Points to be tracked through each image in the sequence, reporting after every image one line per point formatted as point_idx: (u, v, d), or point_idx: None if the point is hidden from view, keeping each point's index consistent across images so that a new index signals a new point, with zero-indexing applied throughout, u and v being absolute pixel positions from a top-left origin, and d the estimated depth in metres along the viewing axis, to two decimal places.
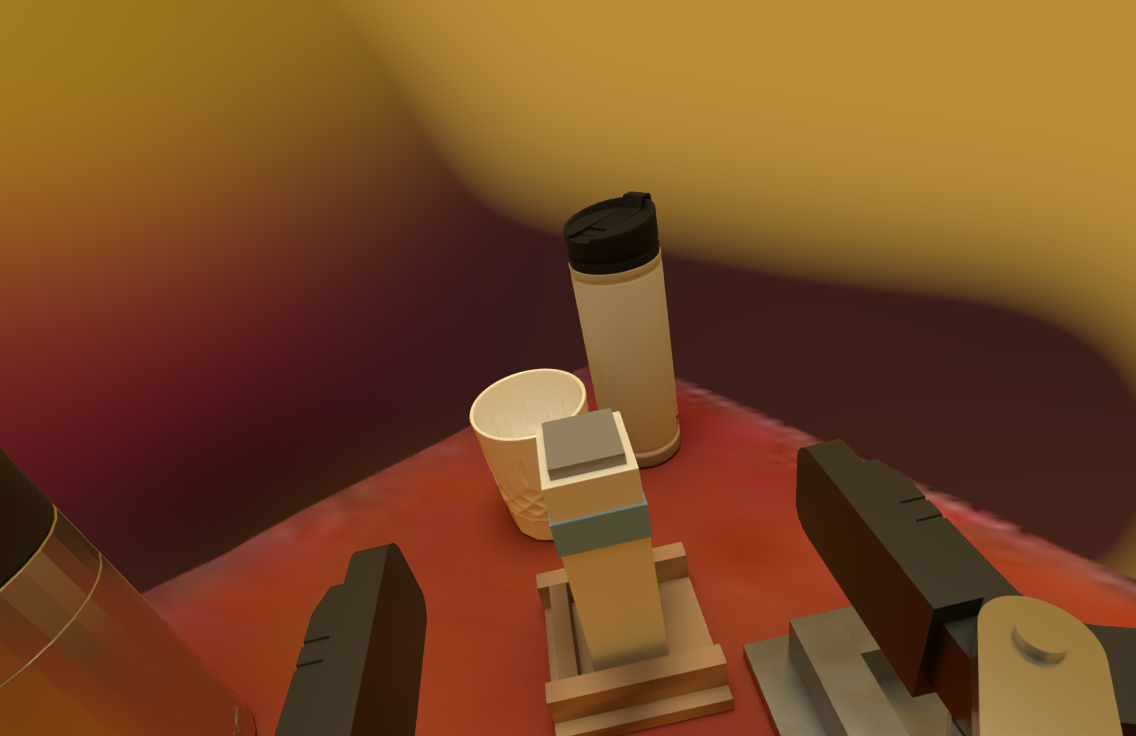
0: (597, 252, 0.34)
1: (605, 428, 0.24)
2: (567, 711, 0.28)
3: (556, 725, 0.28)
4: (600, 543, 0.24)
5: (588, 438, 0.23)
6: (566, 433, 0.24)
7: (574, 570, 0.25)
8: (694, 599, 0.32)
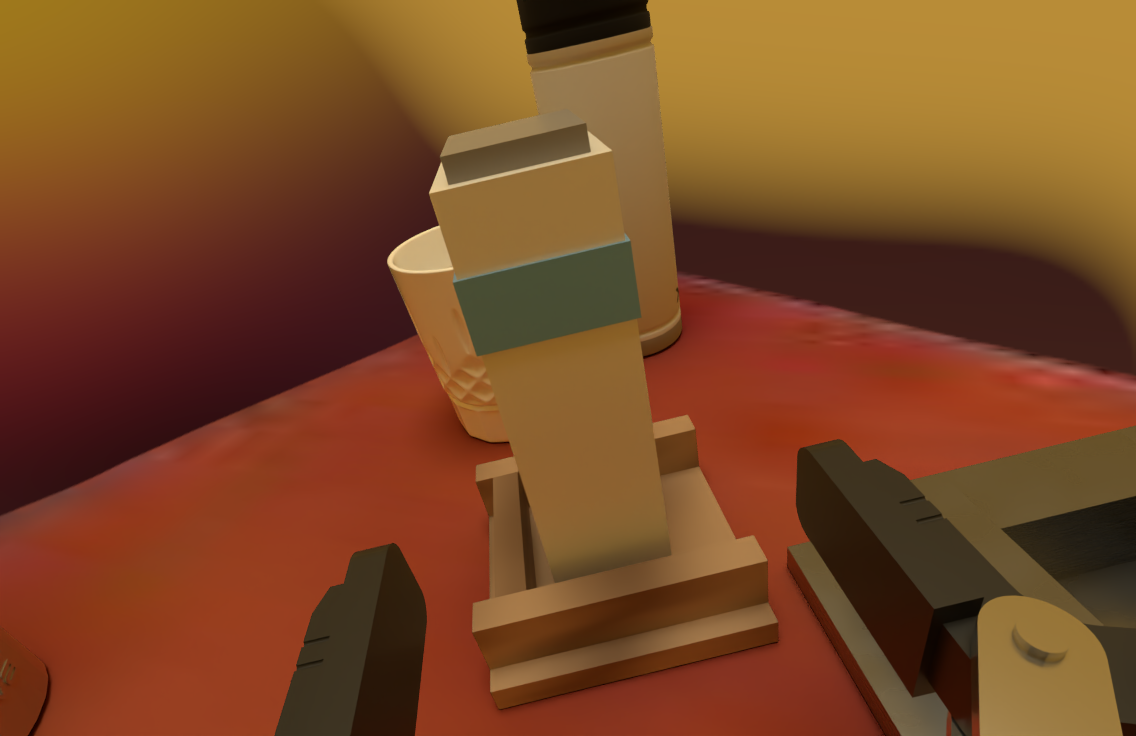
0: (561, 7, 0.24)
1: (555, 119, 0.13)
2: (508, 647, 0.17)
3: (492, 672, 0.17)
4: (549, 328, 0.14)
5: (521, 128, 0.13)
6: (486, 133, 0.14)
7: (507, 387, 0.14)
8: (708, 493, 0.22)
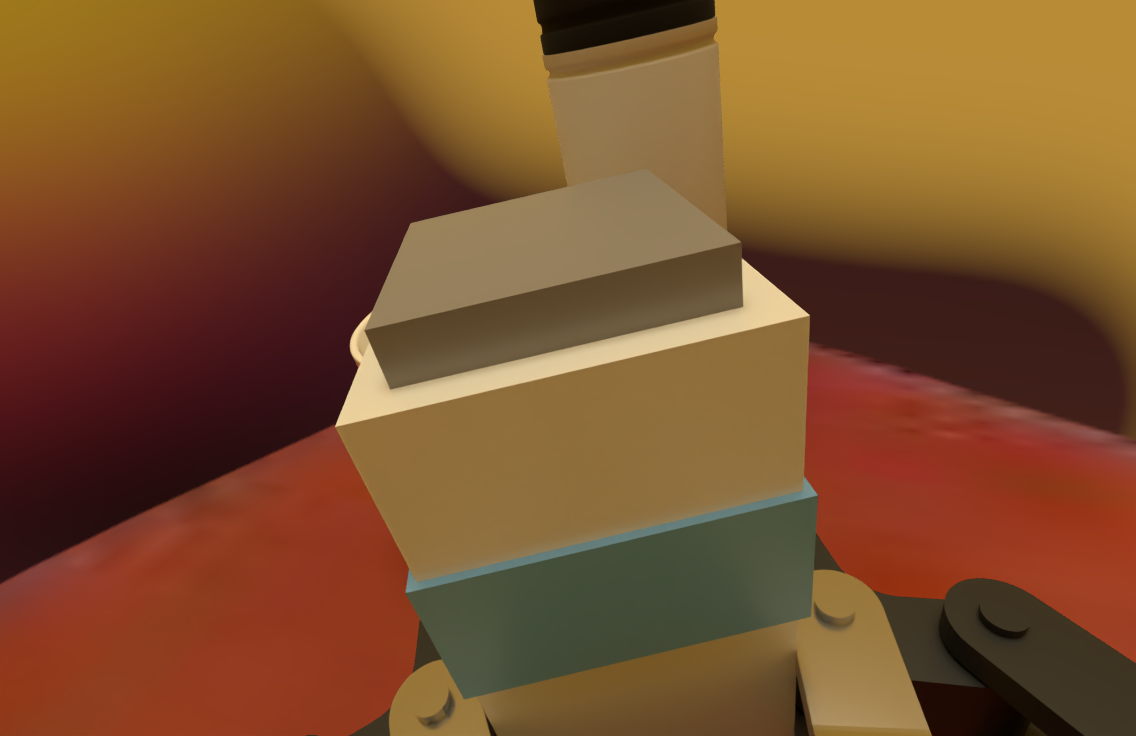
0: None
1: (635, 202, 0.06)
2: None
3: None
4: (618, 647, 0.06)
5: (566, 230, 0.06)
6: (486, 230, 0.06)
7: (527, 728, 0.07)
8: None
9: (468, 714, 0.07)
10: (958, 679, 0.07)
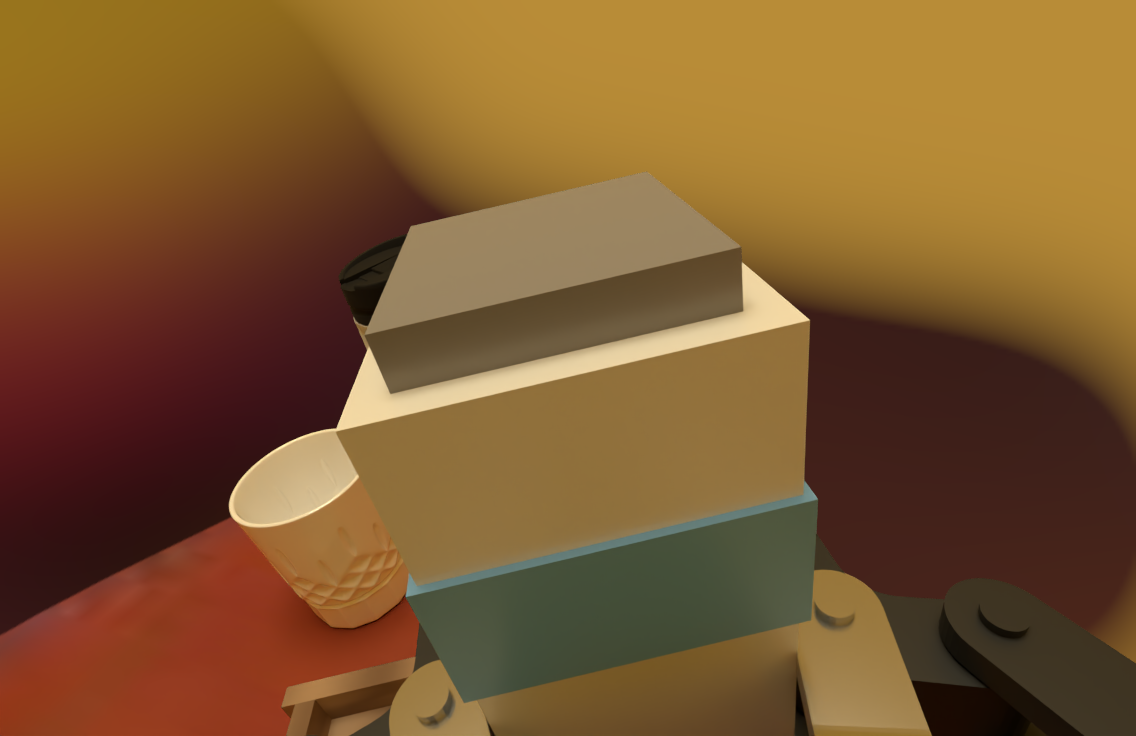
0: (365, 301, 0.29)
1: (634, 206, 0.06)
2: None
3: None
4: (619, 650, 0.06)
5: (566, 234, 0.06)
6: (486, 233, 0.06)
7: (526, 732, 0.07)
8: None
9: (468, 714, 0.07)
10: (958, 679, 0.07)
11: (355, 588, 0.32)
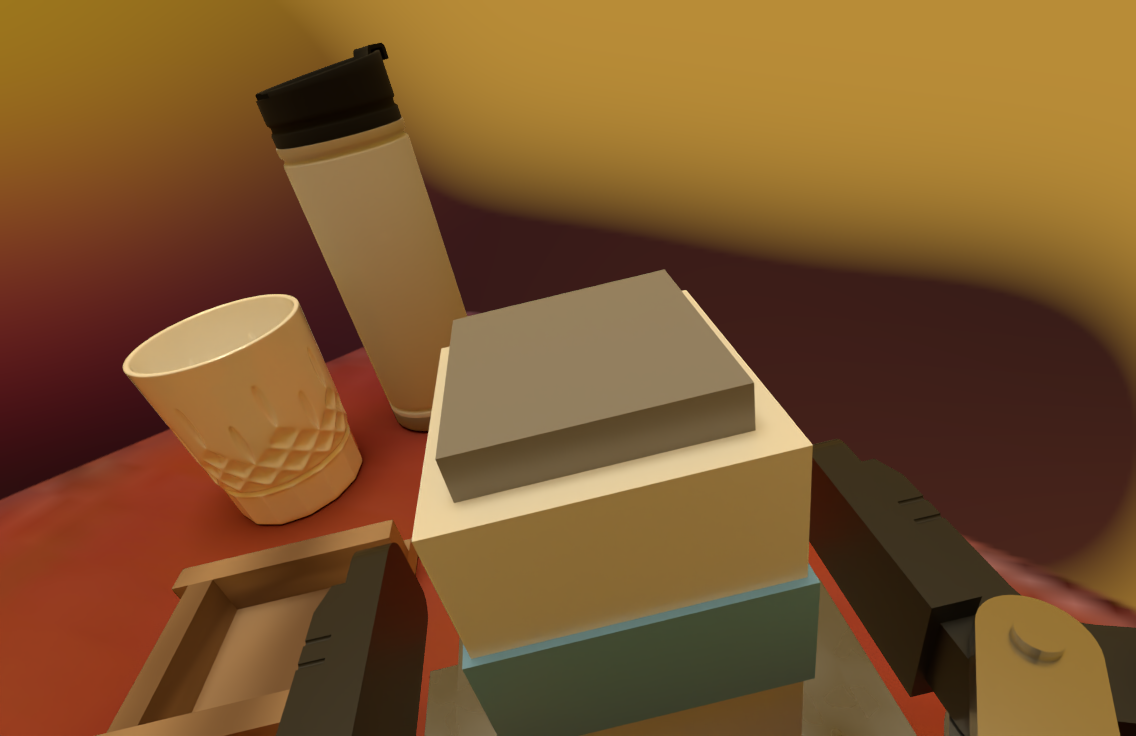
0: (282, 111, 0.24)
1: (658, 317, 0.07)
2: None
3: None
4: (645, 707, 0.07)
5: (598, 348, 0.07)
6: (525, 338, 0.07)
7: None
8: None
9: None
10: None
11: (279, 469, 0.27)
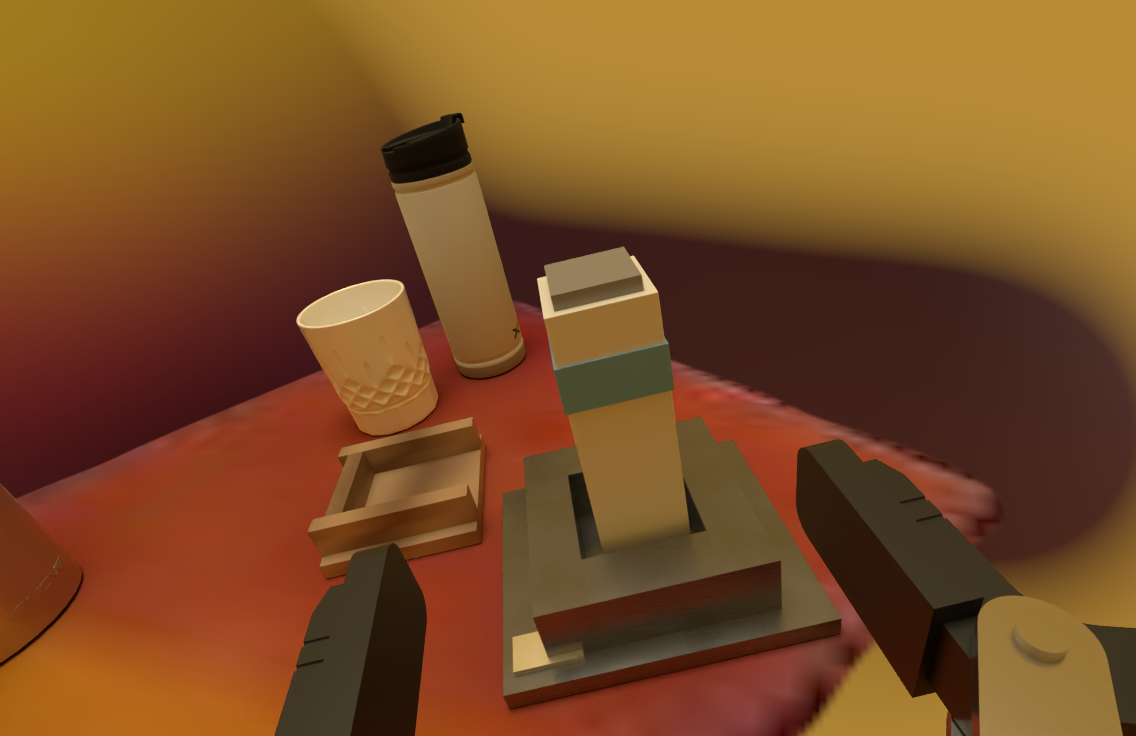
0: (401, 160, 0.38)
1: (618, 261, 0.20)
2: (330, 542, 0.31)
3: (323, 557, 0.31)
4: (613, 396, 0.21)
5: (597, 270, 0.20)
6: (572, 269, 0.21)
7: (583, 434, 0.21)
8: (477, 464, 0.36)
9: None
10: None
11: (391, 394, 0.41)
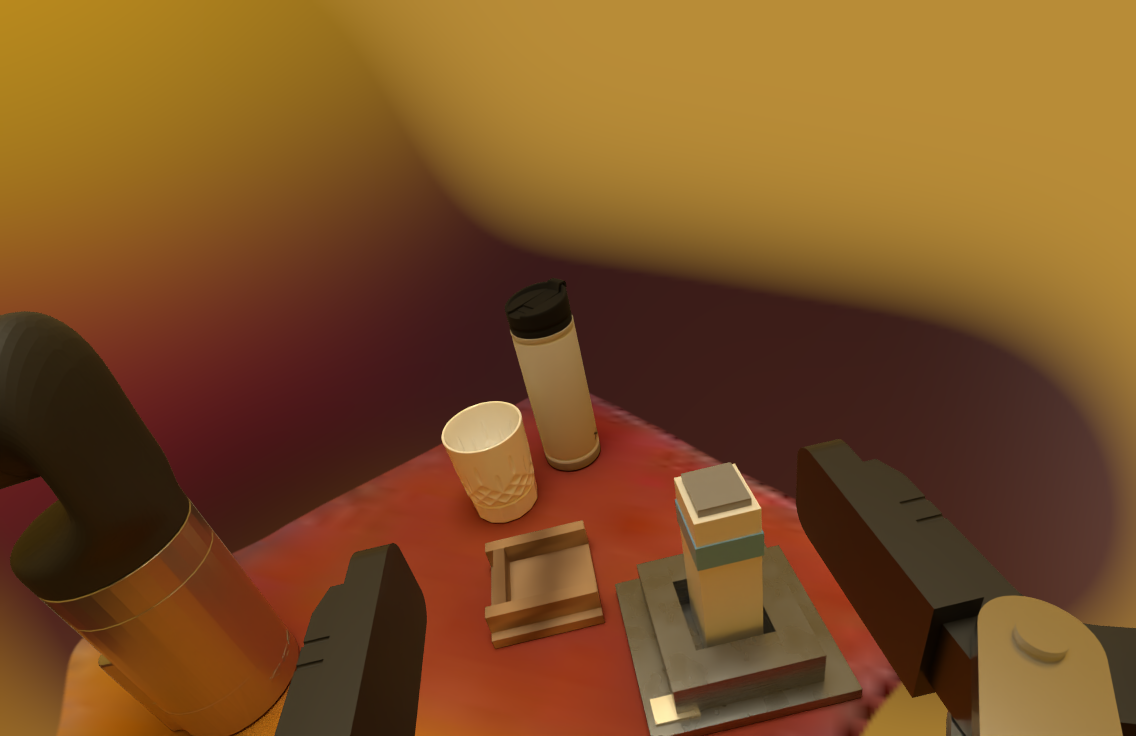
0: (525, 324, 0.51)
1: (731, 479, 0.33)
2: (498, 624, 0.44)
3: (492, 634, 0.44)
4: (728, 560, 0.34)
5: (720, 486, 0.33)
6: (702, 482, 0.34)
7: (706, 579, 0.35)
8: (589, 557, 0.49)
9: None
10: None
11: (511, 495, 0.54)
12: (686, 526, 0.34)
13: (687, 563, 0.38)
